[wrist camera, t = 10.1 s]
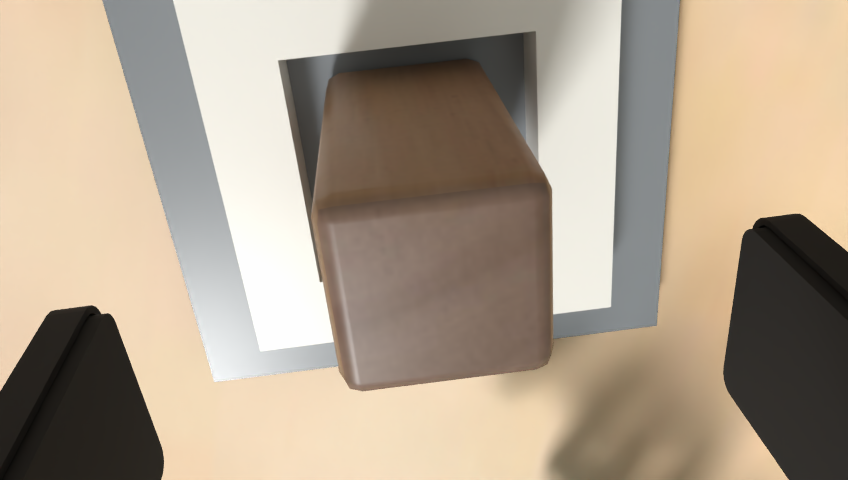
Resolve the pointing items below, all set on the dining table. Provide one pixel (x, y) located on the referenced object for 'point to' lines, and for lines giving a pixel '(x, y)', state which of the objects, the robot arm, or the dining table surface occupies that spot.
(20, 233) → the dining table surface
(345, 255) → the wooden block
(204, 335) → the baseplate
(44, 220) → the dining table surface
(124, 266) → the dining table surface
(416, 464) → the dining table surface
